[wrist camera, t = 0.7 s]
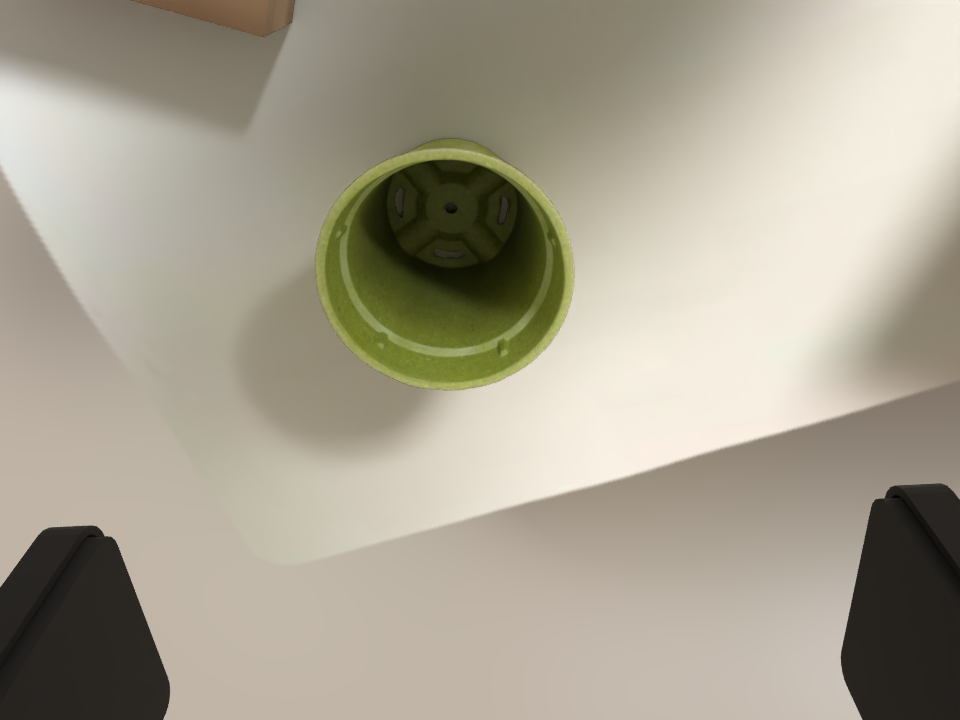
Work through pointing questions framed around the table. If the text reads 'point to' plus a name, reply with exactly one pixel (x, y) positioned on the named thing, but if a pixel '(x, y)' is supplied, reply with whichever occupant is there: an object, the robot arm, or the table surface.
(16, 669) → the robot arm
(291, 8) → the walnut block
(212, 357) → the table surface
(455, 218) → the plant pot
